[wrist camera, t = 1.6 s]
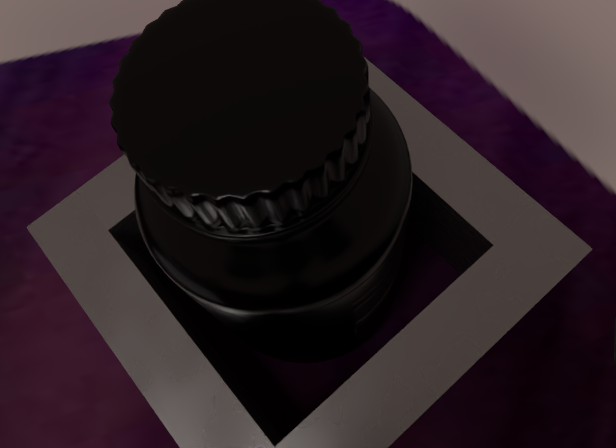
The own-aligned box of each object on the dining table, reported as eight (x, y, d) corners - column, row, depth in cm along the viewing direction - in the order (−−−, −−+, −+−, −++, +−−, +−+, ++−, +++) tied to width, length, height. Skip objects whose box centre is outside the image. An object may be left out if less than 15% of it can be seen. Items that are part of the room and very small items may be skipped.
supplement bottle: (344, 166, 22) (328, -108, 11) (430, 313, 20) (520, 145, 9) (191, 239, 22) (14, 25, 11) (259, 400, 19) (121, 339, 8)
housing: (549, 285, 20) (592, 248, 16) (283, 542, 17) (263, 568, 14) (320, 80, 24) (313, 14, 20) (83, 264, 22) (26, 227, 18)
